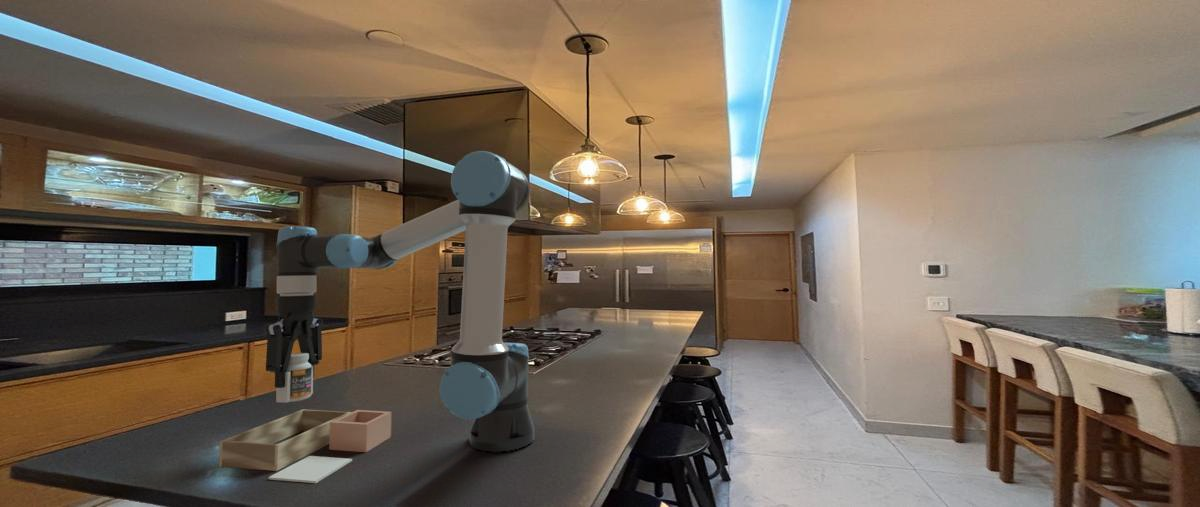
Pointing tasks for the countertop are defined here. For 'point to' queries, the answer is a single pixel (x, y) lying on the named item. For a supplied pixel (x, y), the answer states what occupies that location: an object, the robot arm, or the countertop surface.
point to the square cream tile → (310, 469)
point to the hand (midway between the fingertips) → (295, 397)
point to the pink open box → (360, 430)
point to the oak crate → (259, 442)
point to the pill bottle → (300, 376)
